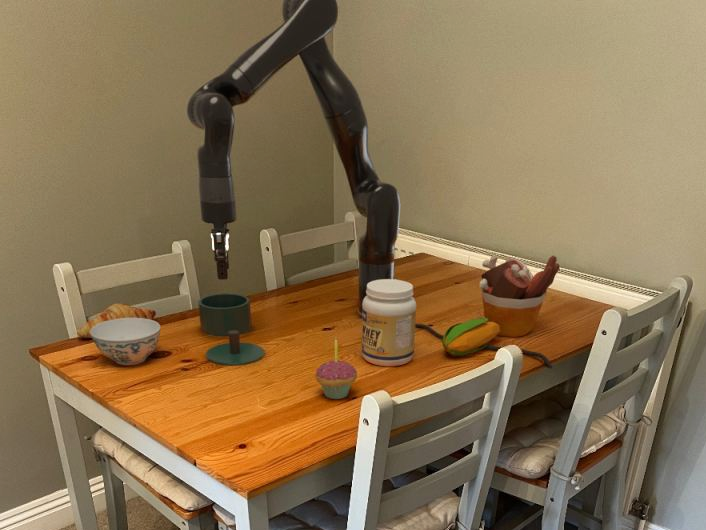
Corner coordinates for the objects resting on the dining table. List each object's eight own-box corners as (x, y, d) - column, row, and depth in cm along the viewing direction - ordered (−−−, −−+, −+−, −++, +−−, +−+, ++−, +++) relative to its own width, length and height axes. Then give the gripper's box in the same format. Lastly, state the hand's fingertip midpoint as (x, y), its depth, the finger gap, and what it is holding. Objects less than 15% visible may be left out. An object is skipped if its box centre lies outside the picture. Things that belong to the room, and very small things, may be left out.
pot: (261, 327, 190) (259, 298, 186) (231, 341, 181) (229, 311, 177) (221, 319, 195) (219, 290, 191) (191, 333, 186) (188, 303, 182)
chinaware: (129, 379, 161) (123, 345, 156) (82, 364, 167) (75, 331, 163) (178, 358, 171) (174, 325, 167) (132, 345, 178) (127, 313, 174)
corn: (435, 324, 171) (488, 305, 183) (431, 354, 175) (483, 335, 187) (460, 334, 167) (512, 314, 179) (455, 365, 171) (507, 344, 183)
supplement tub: (351, 355, 174) (351, 283, 165) (391, 345, 181) (393, 274, 171) (383, 372, 166) (385, 296, 157) (424, 360, 172) (428, 287, 163)
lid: (275, 353, 175) (274, 328, 172) (242, 372, 165) (240, 346, 162) (229, 343, 180) (227, 318, 177) (194, 361, 170) (191, 335, 167)
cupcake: (315, 387, 159) (314, 332, 152) (355, 386, 159) (355, 331, 153) (317, 403, 151) (315, 347, 145) (358, 402, 152) (358, 346, 146)
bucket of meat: (461, 331, 190) (467, 251, 179) (489, 314, 201) (497, 238, 190) (534, 348, 180) (545, 264, 170) (559, 329, 192) (572, 250, 181)
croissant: (88, 357, 180) (89, 333, 174) (66, 329, 183) (66, 304, 176) (163, 334, 193) (167, 311, 186) (141, 309, 195) (145, 285, 189)
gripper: (234, 204, 155) (239, 282, 164) (235, 192, 167) (240, 265, 175) (197, 204, 154) (205, 283, 163) (201, 192, 166) (208, 266, 175)
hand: (223, 274), depth 169 cm, fingers open, 8 cm apart
